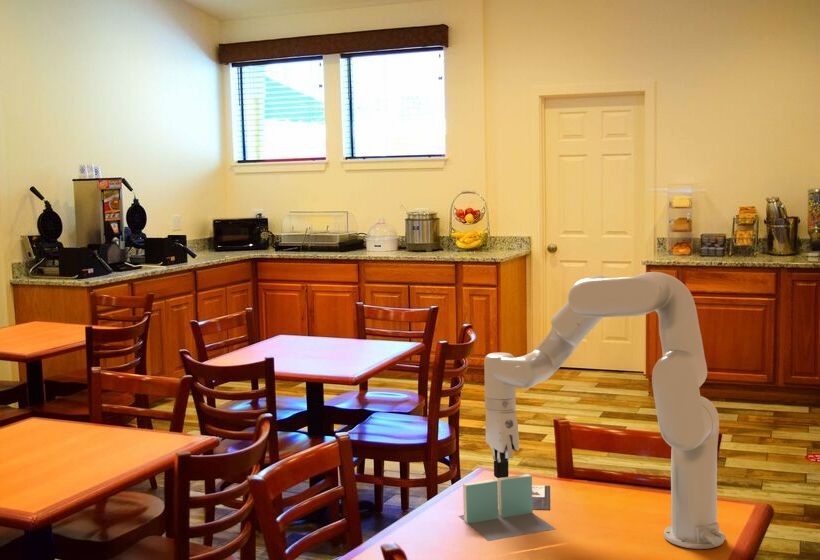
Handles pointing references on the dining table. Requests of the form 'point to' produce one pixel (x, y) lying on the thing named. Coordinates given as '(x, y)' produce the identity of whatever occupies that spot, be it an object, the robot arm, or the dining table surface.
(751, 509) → the dining table surface
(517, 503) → the tile
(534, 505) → the chocolate bar
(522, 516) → the mat
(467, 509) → the tile
